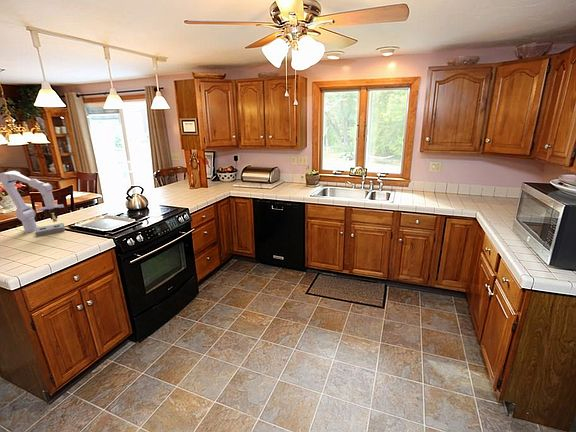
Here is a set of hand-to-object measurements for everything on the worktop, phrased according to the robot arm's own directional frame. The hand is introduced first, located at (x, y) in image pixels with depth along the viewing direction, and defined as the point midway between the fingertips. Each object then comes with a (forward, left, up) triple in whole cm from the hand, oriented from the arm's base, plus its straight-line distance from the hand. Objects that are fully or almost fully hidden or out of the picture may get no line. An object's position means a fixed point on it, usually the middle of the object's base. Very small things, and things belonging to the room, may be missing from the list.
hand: (54, 218), depth 215 cm
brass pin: (0, 0, -2) cm, 2 cm away
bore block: (0, -4, -9) cm, 10 cm away
